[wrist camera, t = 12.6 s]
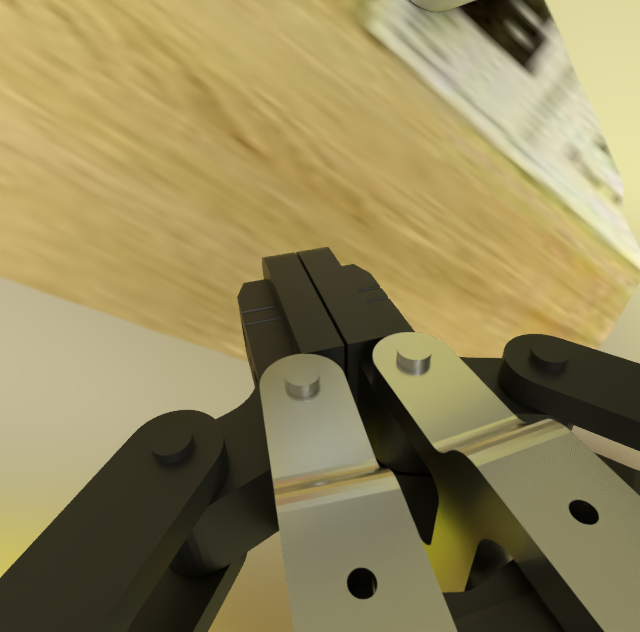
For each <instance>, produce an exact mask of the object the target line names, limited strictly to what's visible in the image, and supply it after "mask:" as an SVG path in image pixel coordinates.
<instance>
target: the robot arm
mask: <svg viewBox="0 0 640 632" xmlns="http://www.w3.org/2000/svg"><path fill="white" fill-rule="evenodd" d="M411 1H412V2H413V3H414V4H416V5H418V6H419V7H421V8H423V9H426V10H429V11H433V12H440V11H447V10H450V9H453V8H456V7H459V6H461V5H464V4H467V3H469V2H472V1H475V0H411ZM262 267H263V276H264V280H259V281H253V282H247V283H244V284H243V286H242V288H241V290H240V292H239V295H238V297H237V298H238V304H239V310H240V316H241V322H242V329H243V335H244V341H245V347H246V353H247V357H248V361H249V365H250V368H251V373H252V377H253V380H254V385H255V389H254V391H253V393H252V394H251V395H250V397H249V398H248V399H247V400H246V401H245V402H244V403H243V404H242V405H240V406H239V407H238V408H236V409H234V410H233V411H231V412H229V413H227V414H225V415H224V416H221V417H219V418H217V419H214V418H213V417H211V416H210V415H208V414H206V413H203V412H200V411H195V410H178V411H173V412H169V413H166V414H163V415H160V416H158V417H156V418H153V419H152V420H150V421H148V422H147V423H145V424H144V425H143V426H141V427H140V428H139V429H138V430H137V431H136V432H135V433H134V434H133V435H132V436H131V437H130V438H129V439H128V440H127V442H126V443H125V444H124V445H123V446H122V447H121V448H120V449H119V450H118V451H117V452H116V453H115V454H114V455H113V457H112V458H111V459H110V460H109V461H108V462H107V463H106V464H105V465H104V467H102V468H101V470H100V471H99V472H98V473H97V474H96V475H95V476H94V477H93V478H92V479H91V480H90V481H89V482H88V484H87V485H86V486H85V487H84V488H83V489H82V490H81V491H80V492H79V493H78V495H76V497H75V498H74V499H73V500H72V501H71V502H70V503H69V504H68V505H67V506H66V507H65V508H64V510H63V511H62V512H61V513H60V514H59V515H58V516H57V517H56V518H55V519H54V520H53V522H52V523H51V524H50V525H49V526H48V527H47V528H46V529H45V530H44V531H43V532H42V533H41V534H40V536H39V537H38V538H37V539H36V540H35V541H34V542H33V543H32V544H31V545H30V546H29V547H28V549H27V550H26V551H25V552H24V553H23V554H22V555H21V556H20V557H19V558H18V559H17V560H16V561H15V563H14V564H13V565H12V566H11V567H10V568H9V569H8V570H7V571H6V572H5V573H4V574H3V576H2V577H1V578H0V632H208V630H209V628H210V626H211V625H212V623H213V620H214V619H215V617H216V615H217V613H218V611H219V609H220V608H221V606H222V604H223V602H224V600H225V598H226V596H227V594H228V592H229V591H230V589H231V587H232V585H233V583H234V581H235V579H236V577H237V576H238V573H239V572H240V570H241V568H242V566H243V563H244V562H245V559H246V555H247V552H248V551H249V550H251V549H252V548H254V547H255V546H257V545H258V544H260V543H261V542H263V541H264V540H266V539H267V538H269V537H270V536H271V535H273V534H274V533H276V532H278V531H280V537H281V544H282V552H283V559H284V566H285V573H286V580H287V587H288V594H289V601H290V609H291V616H292V622H293V630H294V632H640V471H639V470H635V469H633V468H630V467H627V466H625V465H623V464H621V463H618V462H616V461H613V460H611V459H609V458H606V457H604V456H602V455H599V454H597V453H594V452H593V451H591V450H590V449H589V448H588V447H587V446H586V445H585V444H584V443H583V442H582V441H581V440H580V439H579V438H578V437H577V436H576V435H575V434H574V433H572V432H571V430H572V428H573V426H574V425H575V426H578V427H580V428H583V429H585V430H588V431H590V432H593V433H595V434H598V435H600V436H603V437H605V438H608V439H610V440H613V441H615V442H618V443H620V444H623V445H625V446H628V447H630V448H633V449H635V450H638V451H640V364H639V363H636V362H633V361H630V360H626V359H623V358H620V357H617V356H614V355H611V354H608V353H604V352H601V351H598V350H595V349H592V348H589V347H586V346H582V345H579V344H576V343H573V342H570V341H567V340H564V339H561V338H557V337H553V336H549V335H543V334H527V335H521V336H518V337H515V338H513V339H512V340H510V341H509V342H508V343H507V344H506V346H505V348H504V352H503V356H502V358H466V357H458V356H457V355H456V354H455V353H454V351H453V350H452V349H451V348H450V347H449V346H447V345H446V344H445V343H444V342H442V341H441V340H439V339H437V338H435V337H433V336H430V335H427V334H422V333H416V332H415V331H414V330H413V329H412V327H411V326H410V325H409V324H408V322H407V321H406V320H405V318H404V317H403V316H402V314H401V313H400V312H399V310H398V309H397V308H396V306H395V305H394V304H393V303H392V301H391V300H390V299H388V296H387V295H386V293H385V292H384V291H383V289H382V288H380V285H379V284H378V283H377V281H376V280H375V279H374V278H373V276H372V275H371V274H370V273H369V272H367V271H365V270H363V269H361V268H360V267H358V266H356V265H354V264H351V265H346V266H341V265H340V263H339V262H338V260H337V259H336V257H335V256H334V254H333V253H332V251H331V250H330V249H329V248H328V247H325V248H318V249H312V250H306V251H300V252H296V254H295V253H288V254H282V255H276V256H270V257H263V258H262Z"/></svg>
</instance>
